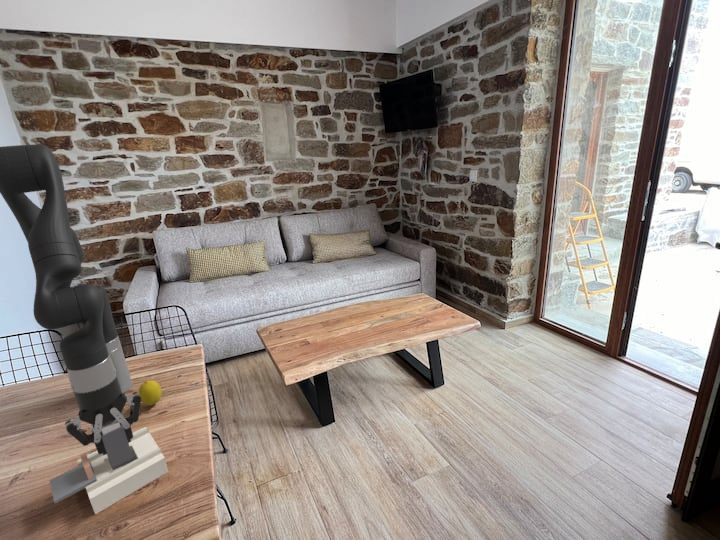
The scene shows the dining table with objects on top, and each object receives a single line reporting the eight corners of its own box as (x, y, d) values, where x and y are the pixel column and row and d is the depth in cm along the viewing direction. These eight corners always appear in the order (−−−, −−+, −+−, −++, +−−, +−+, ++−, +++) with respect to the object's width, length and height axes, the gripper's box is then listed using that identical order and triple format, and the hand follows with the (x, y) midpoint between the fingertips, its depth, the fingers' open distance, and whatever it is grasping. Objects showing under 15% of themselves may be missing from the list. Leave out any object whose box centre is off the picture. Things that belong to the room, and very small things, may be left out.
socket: (82, 473, 84) (75, 456, 82) (149, 439, 93) (144, 423, 91) (95, 514, 74) (88, 495, 73) (168, 471, 83) (163, 454, 82)
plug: (108, 460, 82) (95, 422, 79) (128, 450, 85) (117, 413, 82) (112, 470, 80) (99, 432, 76) (133, 459, 82) (121, 422, 79)
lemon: (155, 412, 103) (148, 387, 100) (138, 410, 104) (130, 386, 101) (168, 399, 108) (162, 375, 105) (152, 397, 109) (145, 374, 106)
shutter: (50, 482, 77) (44, 469, 76) (90, 462, 81) (85, 449, 80) (54, 503, 72) (48, 489, 71) (97, 481, 77) (92, 467, 75)
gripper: (128, 358, 83) (146, 421, 88) (48, 388, 74) (74, 456, 79) (138, 371, 78) (156, 437, 83) (53, 405, 68) (80, 476, 74)
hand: (116, 446), depth 81 cm, fingers closed on plug, 4 cm apart
